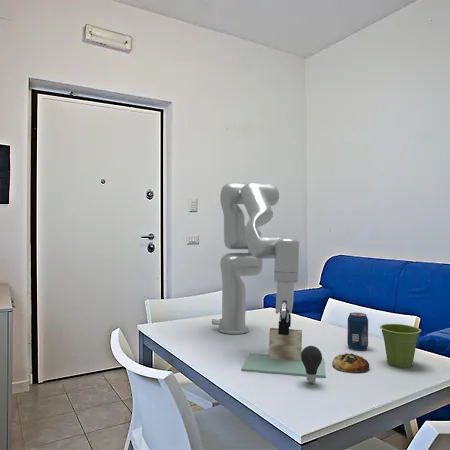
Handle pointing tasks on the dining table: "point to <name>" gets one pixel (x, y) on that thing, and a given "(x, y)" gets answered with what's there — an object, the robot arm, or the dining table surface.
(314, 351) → the light bulb
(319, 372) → the rubber mat
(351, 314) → the soda can
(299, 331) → the tan wooden block
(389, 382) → the dining table surface
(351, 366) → the bread roll
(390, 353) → the plant pot
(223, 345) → the dining table surface
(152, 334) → the dining table surface
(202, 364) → the dining table surface
